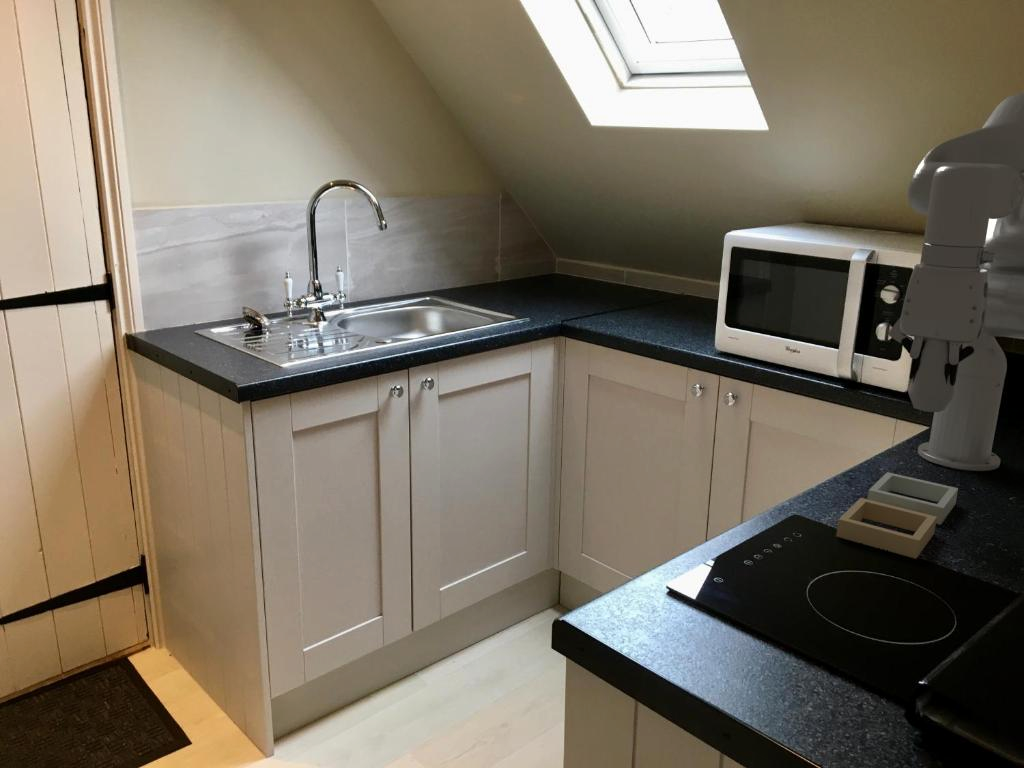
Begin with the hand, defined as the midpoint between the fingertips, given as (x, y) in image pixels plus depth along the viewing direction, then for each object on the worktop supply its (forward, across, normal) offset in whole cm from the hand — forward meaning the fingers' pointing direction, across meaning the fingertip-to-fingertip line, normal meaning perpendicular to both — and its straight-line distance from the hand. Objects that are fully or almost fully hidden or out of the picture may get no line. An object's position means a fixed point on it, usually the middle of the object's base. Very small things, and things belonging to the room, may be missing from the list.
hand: (931, 386), depth 121 cm
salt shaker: (+3, 0, 0) cm, 3 cm away
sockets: (+18, 0, +8) cm, 19 cm away
